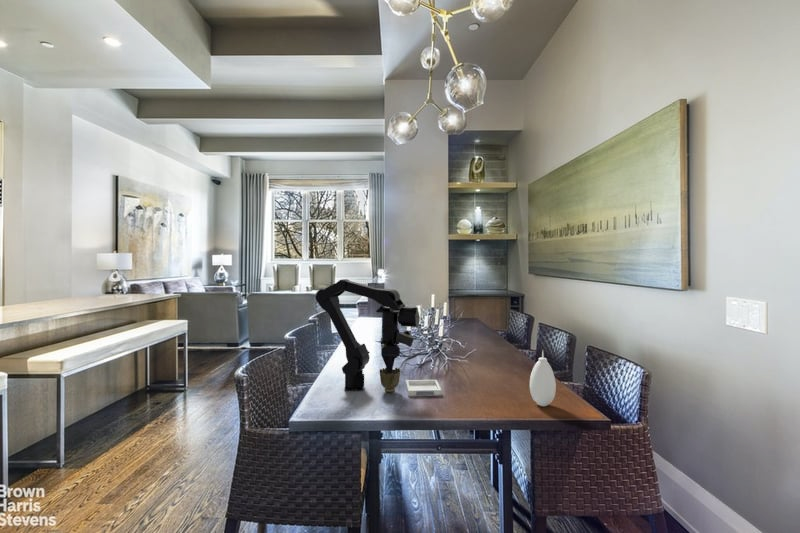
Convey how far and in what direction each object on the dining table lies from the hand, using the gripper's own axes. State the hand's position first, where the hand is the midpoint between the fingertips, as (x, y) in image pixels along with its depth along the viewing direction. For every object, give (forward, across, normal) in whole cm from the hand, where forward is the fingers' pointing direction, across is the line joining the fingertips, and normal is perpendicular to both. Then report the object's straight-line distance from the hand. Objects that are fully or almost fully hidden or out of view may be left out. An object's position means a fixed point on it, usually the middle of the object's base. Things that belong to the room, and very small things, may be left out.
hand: (389, 369), depth 136 cm
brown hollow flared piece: (+8, 0, 0) cm, 8 cm away
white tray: (+8, +1, -12) cm, 15 cm away
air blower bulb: (+8, -15, -49) cm, 52 cm away
